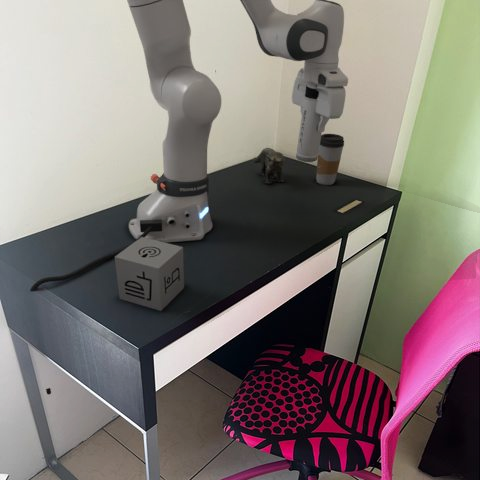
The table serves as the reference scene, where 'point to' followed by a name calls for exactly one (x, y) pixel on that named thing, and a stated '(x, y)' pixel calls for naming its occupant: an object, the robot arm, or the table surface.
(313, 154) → the travel mug
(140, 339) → the table surface
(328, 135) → the coffee cup
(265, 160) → the toy dinosaur
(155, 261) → the icon cube
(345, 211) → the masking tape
